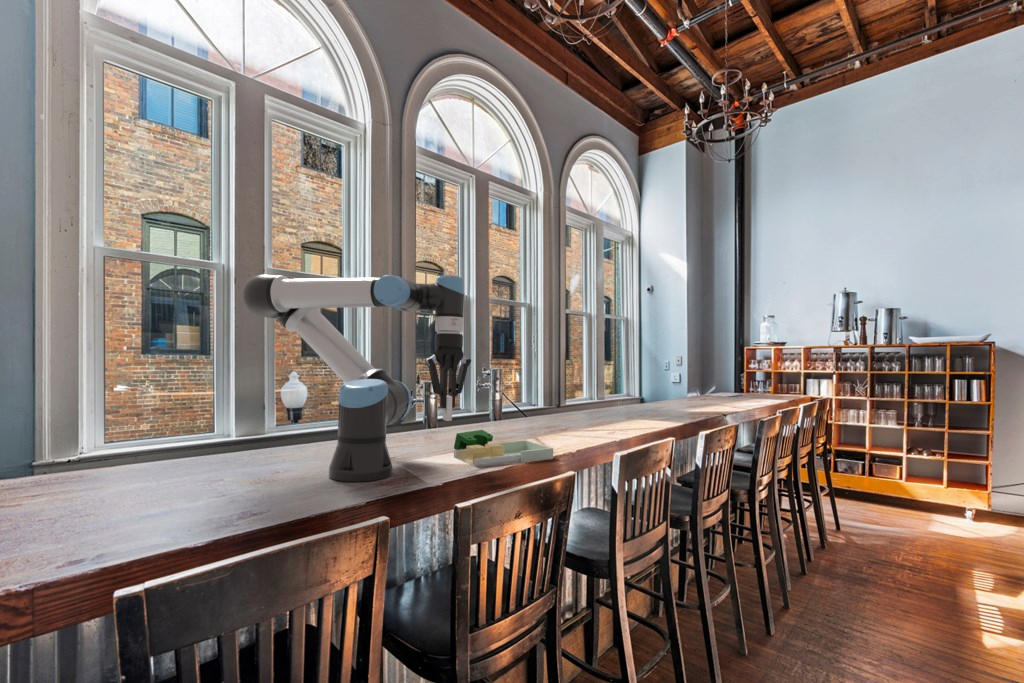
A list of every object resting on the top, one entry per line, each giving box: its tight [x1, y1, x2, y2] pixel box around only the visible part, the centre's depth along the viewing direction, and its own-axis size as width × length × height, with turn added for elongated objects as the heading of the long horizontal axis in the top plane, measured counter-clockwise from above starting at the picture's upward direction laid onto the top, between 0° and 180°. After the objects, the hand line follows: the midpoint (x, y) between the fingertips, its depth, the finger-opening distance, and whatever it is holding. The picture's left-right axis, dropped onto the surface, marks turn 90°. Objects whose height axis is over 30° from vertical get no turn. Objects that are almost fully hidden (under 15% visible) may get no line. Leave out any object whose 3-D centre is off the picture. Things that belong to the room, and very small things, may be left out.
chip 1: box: [466, 445, 486, 463], centre depth 142 cm, size 4×4×4 cm
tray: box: [497, 439, 554, 463], centre depth 150 cm, size 11×14×4 cm
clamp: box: [453, 429, 494, 450], centre depth 159 cm, size 12×6×9 cm, turn 132°
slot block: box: [453, 449, 521, 468], centre depth 143 cm, size 14×13×3 cm
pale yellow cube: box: [485, 442, 504, 457], centre depth 145 cm, size 4×4×4 cm
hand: (447, 420), depth 137 cm, fingers closed
